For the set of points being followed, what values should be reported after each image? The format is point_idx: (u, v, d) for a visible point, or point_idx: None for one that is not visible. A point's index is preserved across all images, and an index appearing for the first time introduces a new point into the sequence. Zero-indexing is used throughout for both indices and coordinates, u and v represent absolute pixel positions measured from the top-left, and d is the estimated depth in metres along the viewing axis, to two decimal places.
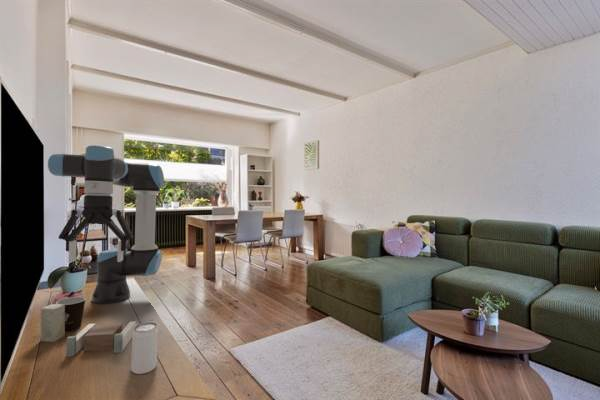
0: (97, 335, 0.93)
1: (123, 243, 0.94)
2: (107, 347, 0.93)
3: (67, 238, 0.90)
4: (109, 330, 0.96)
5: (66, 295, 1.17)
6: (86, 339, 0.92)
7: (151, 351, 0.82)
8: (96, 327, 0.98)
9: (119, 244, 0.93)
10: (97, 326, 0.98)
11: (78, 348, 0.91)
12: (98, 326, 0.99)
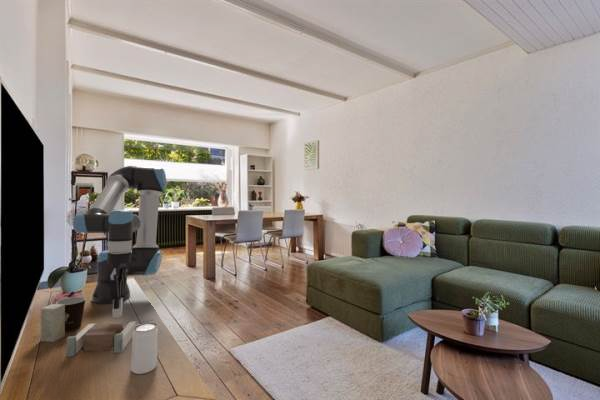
0: (96, 335, 0.93)
1: None
2: (106, 347, 0.93)
3: None
4: (109, 330, 0.96)
5: (66, 295, 1.17)
6: (85, 339, 0.92)
7: (151, 351, 0.82)
8: (97, 327, 0.98)
9: None
10: (98, 326, 0.99)
11: (78, 348, 0.91)
12: (99, 325, 0.99)
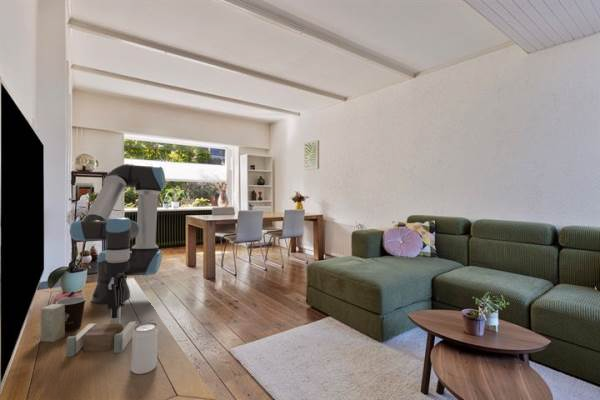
0: (96, 335, 0.93)
1: None
2: (105, 347, 0.93)
3: None
4: (109, 330, 0.96)
5: (66, 295, 1.17)
6: (85, 339, 0.92)
7: (151, 351, 0.82)
8: (97, 327, 0.98)
9: None
10: (98, 326, 0.99)
11: (78, 348, 0.91)
12: (99, 325, 0.99)
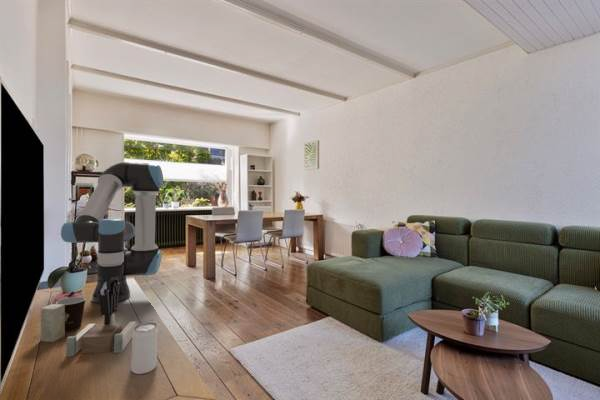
0: (94, 337, 0.91)
1: None
2: (104, 349, 0.92)
3: None
4: (107, 332, 0.94)
5: (66, 295, 1.17)
6: (83, 341, 0.91)
7: (151, 351, 0.82)
8: (95, 328, 0.96)
9: None
10: (96, 327, 0.97)
11: (78, 348, 0.91)
12: (97, 327, 0.97)
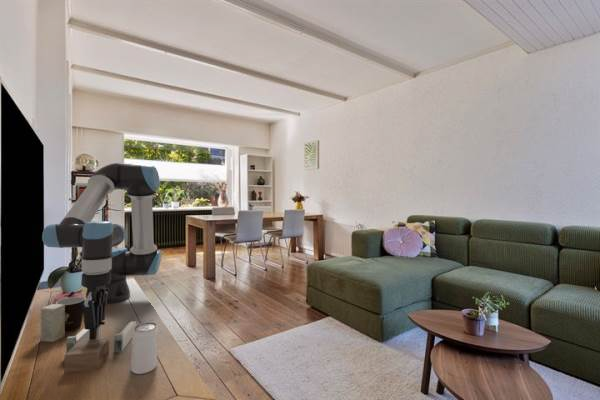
0: (79, 354, 0.81)
1: None
2: (90, 367, 0.82)
3: None
4: (93, 347, 0.85)
5: (66, 295, 1.17)
6: (66, 359, 0.81)
7: (151, 351, 0.82)
8: (79, 344, 0.86)
9: None
10: (80, 343, 0.87)
11: None
12: (81, 342, 0.87)
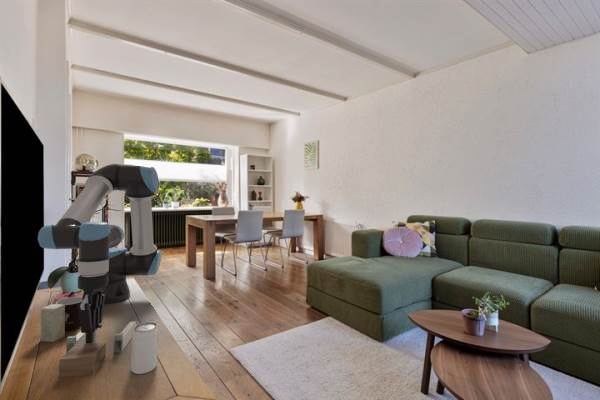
0: (74, 358, 0.79)
1: None
2: (86, 372, 0.80)
3: None
4: (89, 351, 0.83)
5: (66, 295, 1.17)
6: (61, 363, 0.79)
7: (151, 351, 0.82)
8: (74, 348, 0.84)
9: None
10: (76, 347, 0.85)
11: None
12: (77, 346, 0.85)
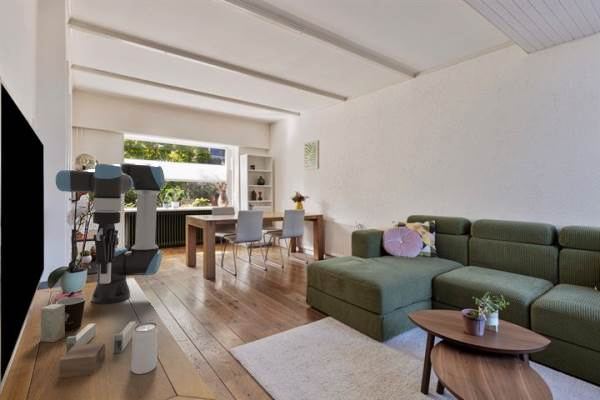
0: (75, 358, 0.79)
1: None
2: (87, 372, 0.80)
3: None
4: (90, 351, 0.83)
5: (66, 295, 1.17)
6: (62, 364, 0.78)
7: (151, 351, 0.82)
8: (74, 348, 0.84)
9: None
10: (75, 347, 0.85)
11: None
12: (76, 346, 0.85)
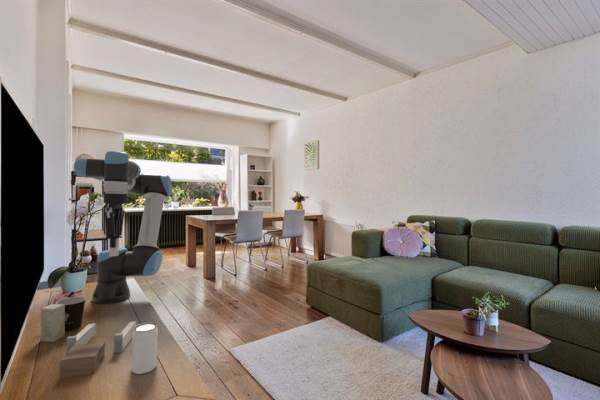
0: (76, 358, 0.79)
1: None
2: (88, 372, 0.80)
3: None
4: (90, 351, 0.83)
5: (66, 295, 1.17)
6: (62, 364, 0.78)
7: (151, 351, 0.82)
8: (73, 348, 0.84)
9: None
10: (74, 347, 0.85)
11: None
12: (75, 347, 0.85)
